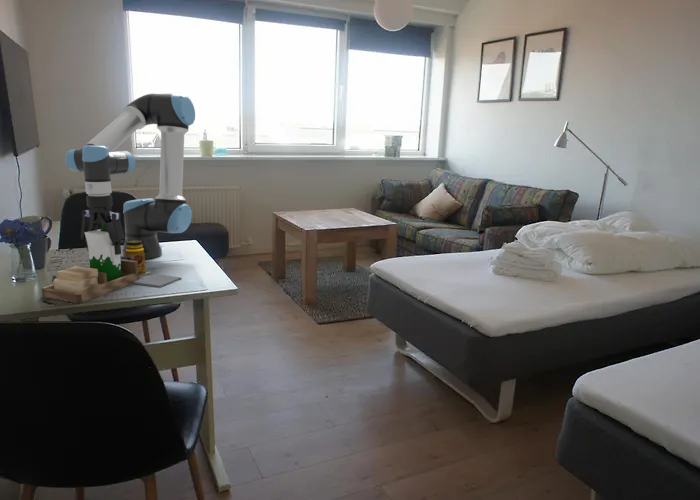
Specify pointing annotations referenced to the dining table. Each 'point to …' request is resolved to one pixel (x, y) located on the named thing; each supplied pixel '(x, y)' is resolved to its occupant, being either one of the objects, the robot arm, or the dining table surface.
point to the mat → (157, 280)
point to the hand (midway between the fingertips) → (105, 262)
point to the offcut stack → (76, 279)
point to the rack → (128, 277)
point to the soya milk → (102, 253)
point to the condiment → (136, 255)
